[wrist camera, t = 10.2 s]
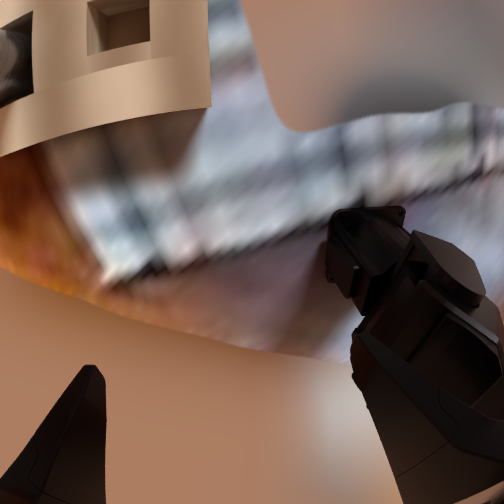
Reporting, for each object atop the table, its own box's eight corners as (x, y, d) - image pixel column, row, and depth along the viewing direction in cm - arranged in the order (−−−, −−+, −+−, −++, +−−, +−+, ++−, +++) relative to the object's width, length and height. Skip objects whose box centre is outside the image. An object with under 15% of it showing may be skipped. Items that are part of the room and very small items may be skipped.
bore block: (205, -40, 10) (206, -73, 6) (209, 102, 15) (211, 107, 11) (-4, 27, 8) (-42, 24, 4) (4, 151, 13) (-34, 172, 10)
